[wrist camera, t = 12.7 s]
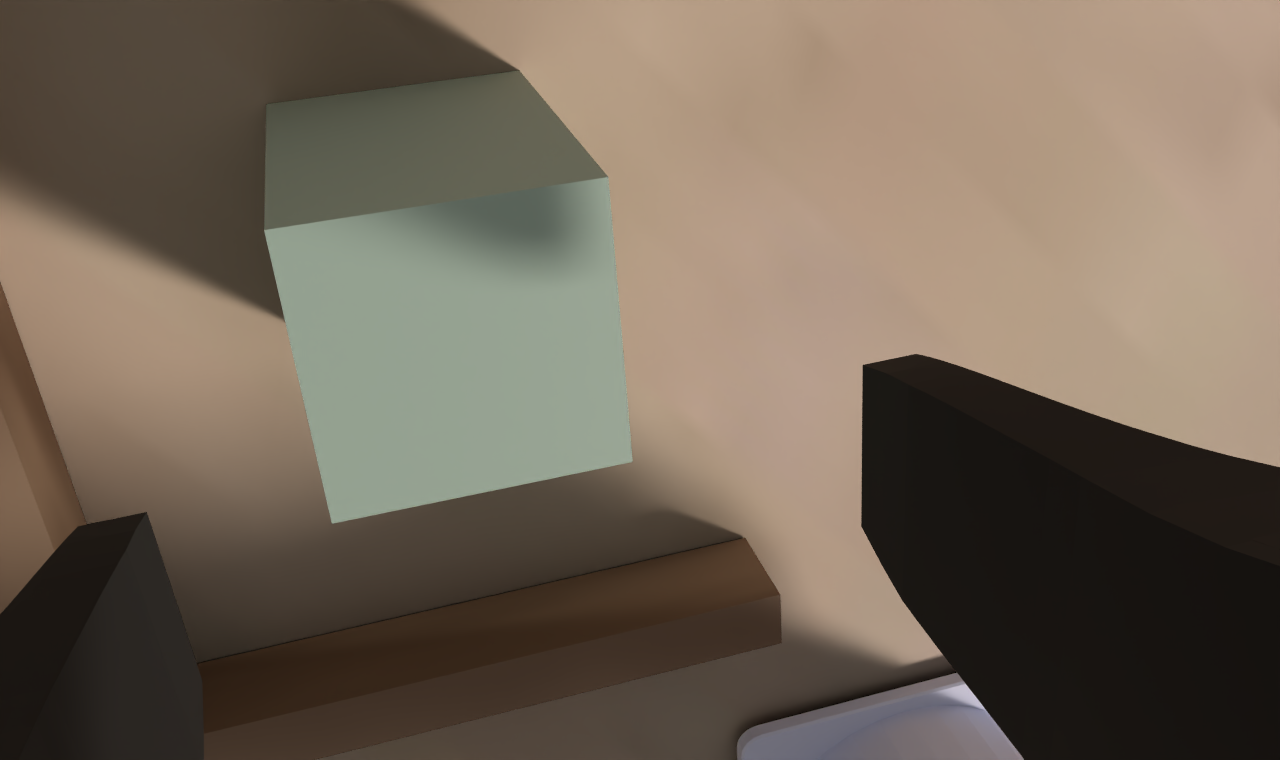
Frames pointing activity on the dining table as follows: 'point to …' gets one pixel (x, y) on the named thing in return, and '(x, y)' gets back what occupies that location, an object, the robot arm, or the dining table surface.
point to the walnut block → (407, 623)
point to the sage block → (445, 291)
